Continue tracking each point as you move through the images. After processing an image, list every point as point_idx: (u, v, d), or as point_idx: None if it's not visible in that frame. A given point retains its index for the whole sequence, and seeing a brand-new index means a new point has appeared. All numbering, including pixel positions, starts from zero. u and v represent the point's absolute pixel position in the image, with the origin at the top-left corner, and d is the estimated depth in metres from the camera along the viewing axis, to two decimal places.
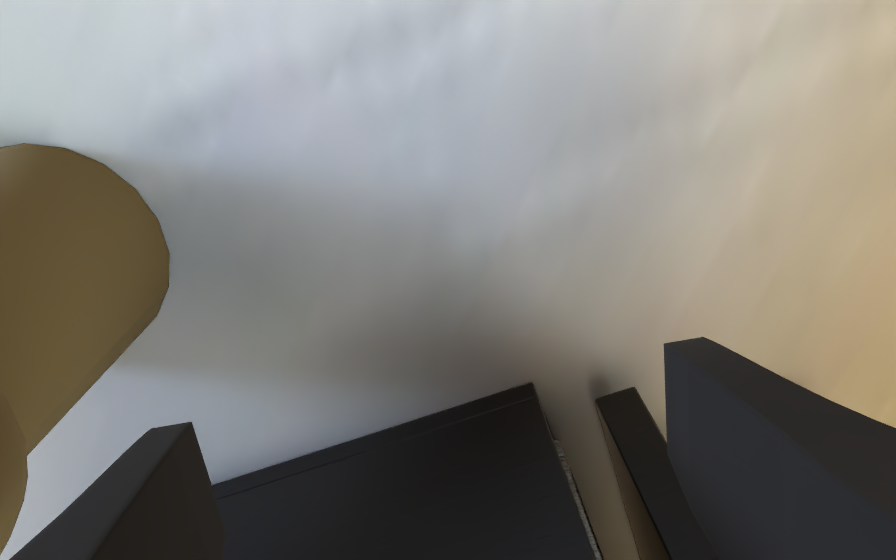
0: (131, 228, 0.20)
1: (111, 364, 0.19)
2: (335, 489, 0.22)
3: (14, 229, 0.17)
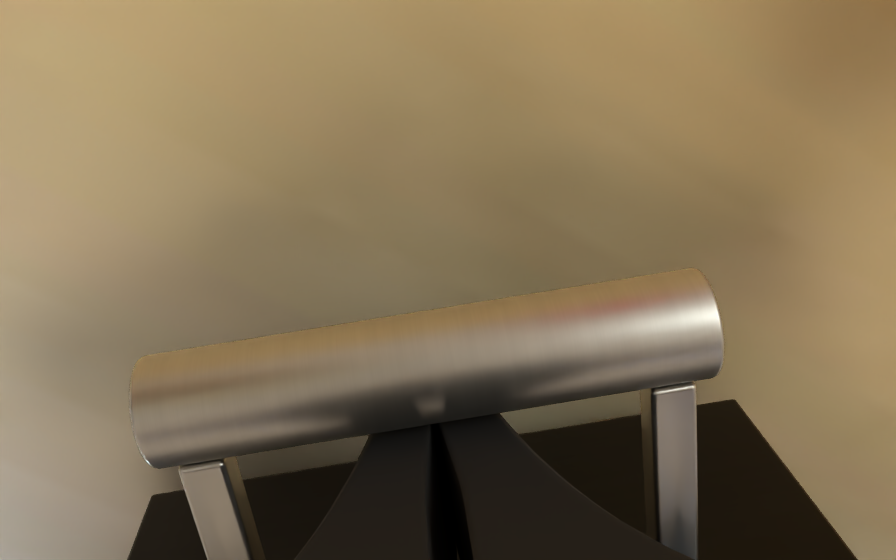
0: None
1: None
2: None
3: None
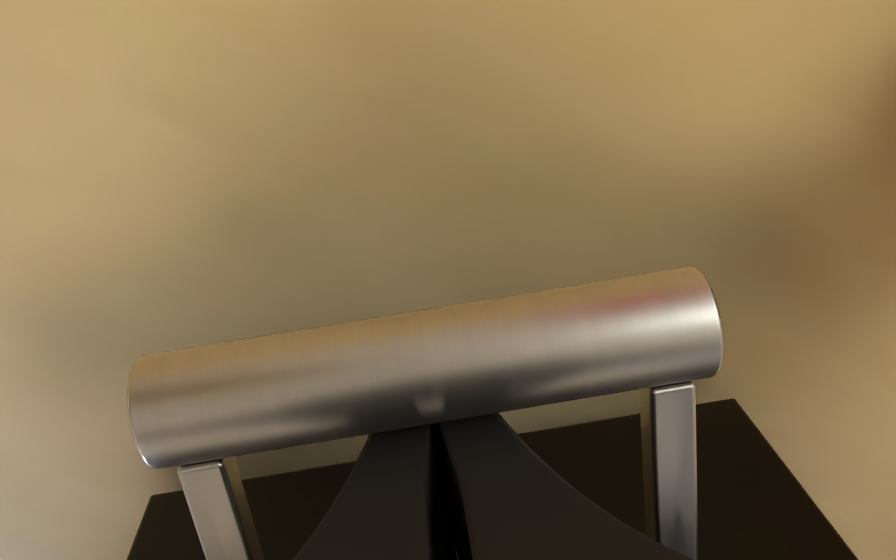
0: None
1: None
2: None
3: None
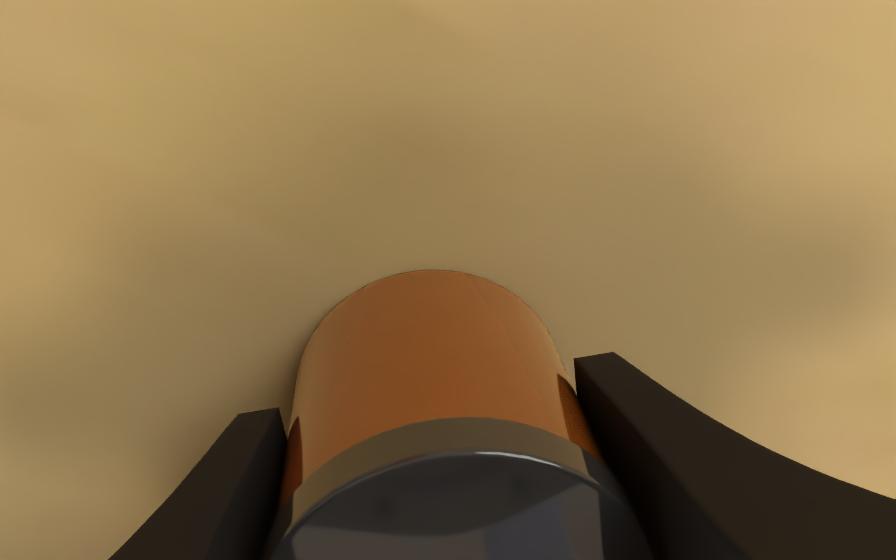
0: None
1: None
2: None
3: None
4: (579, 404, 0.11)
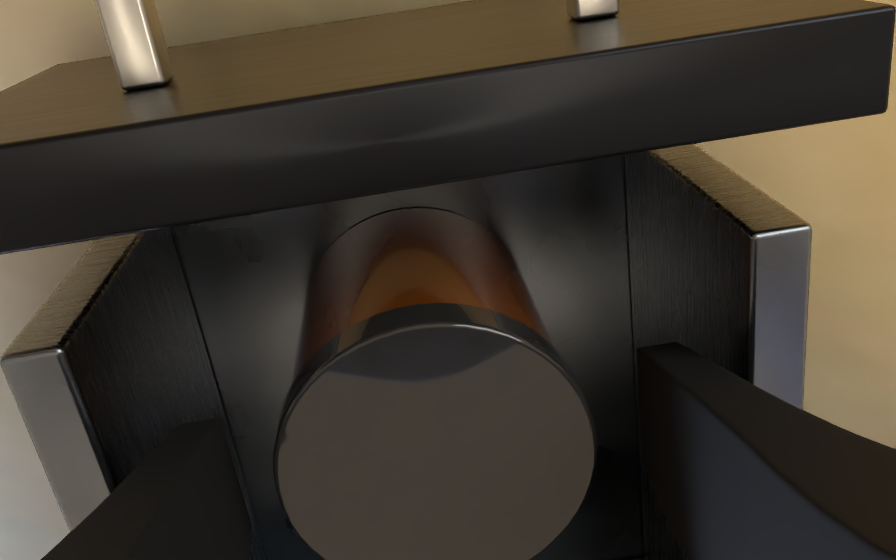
0: None
1: None
2: None
3: None
4: (538, 312, 0.14)
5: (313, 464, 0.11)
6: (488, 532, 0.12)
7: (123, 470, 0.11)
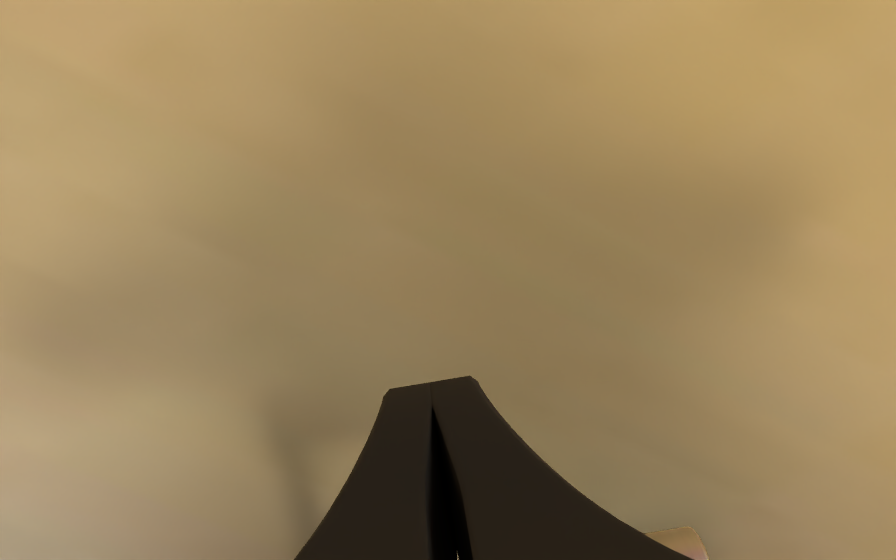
0: None
1: None
2: None
3: None
4: None
5: None
6: None
7: None
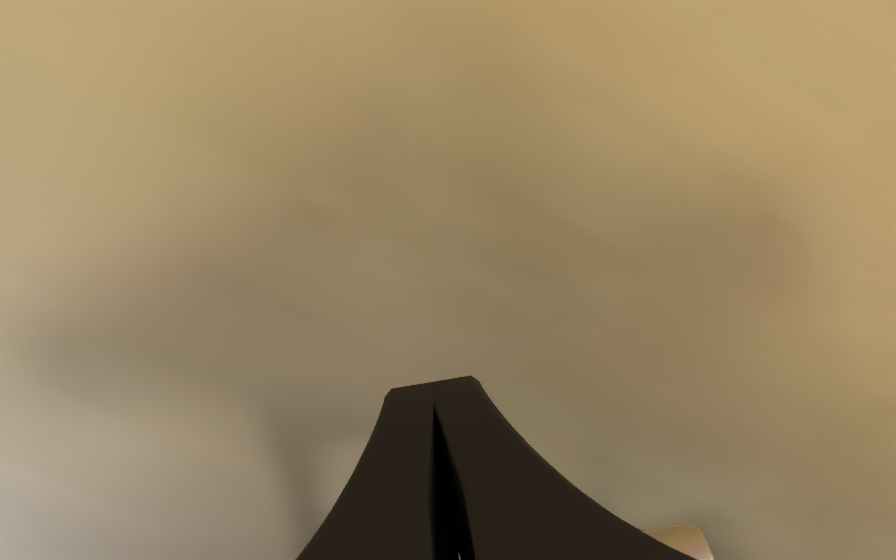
0: None
1: None
2: None
3: None
4: None
5: None
6: None
7: None
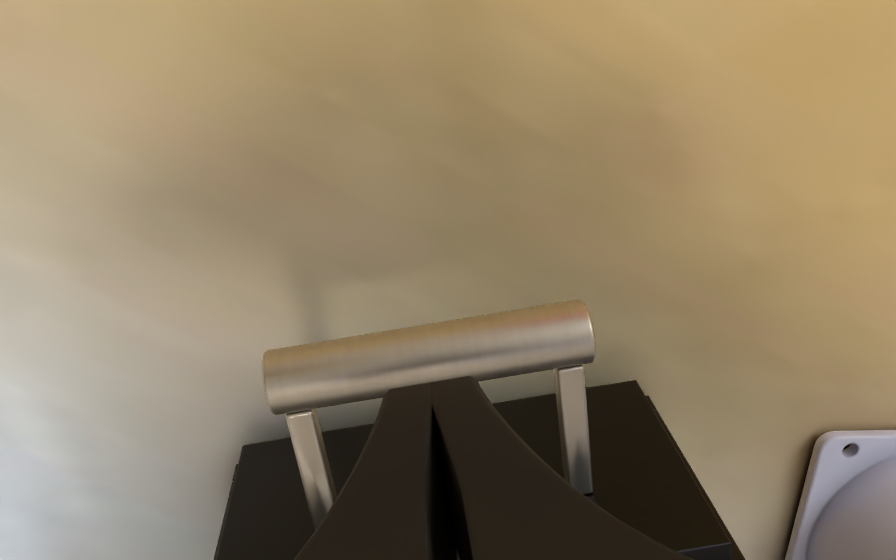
0: None
1: None
2: None
3: None
4: None
5: None
6: None
7: None
